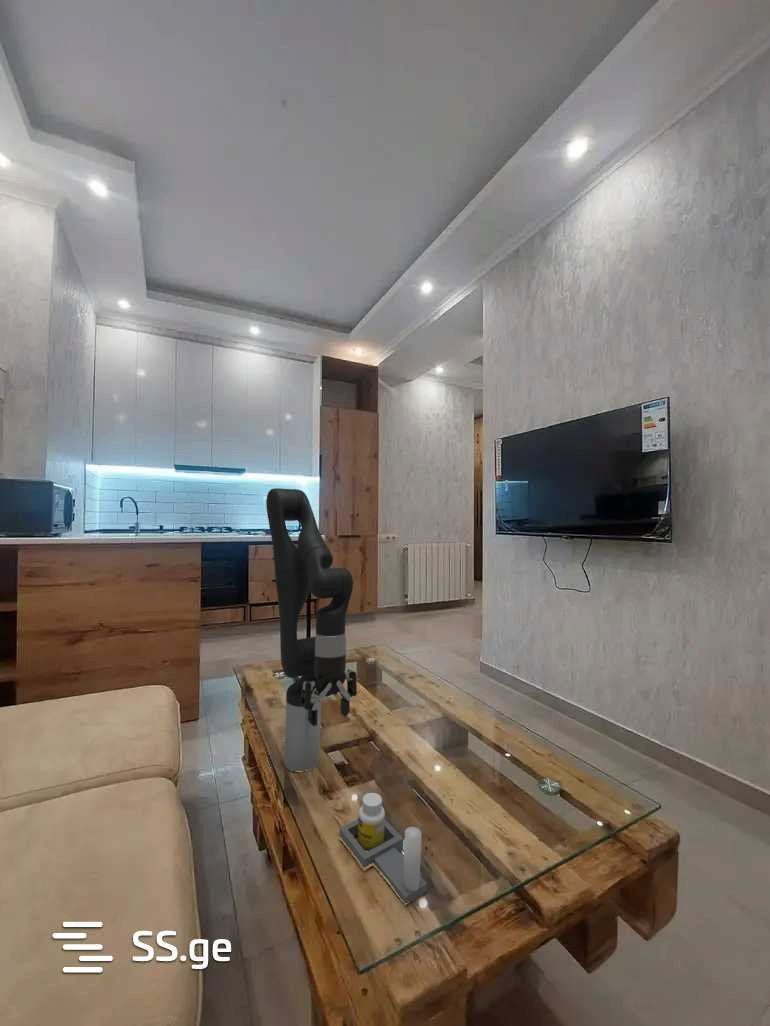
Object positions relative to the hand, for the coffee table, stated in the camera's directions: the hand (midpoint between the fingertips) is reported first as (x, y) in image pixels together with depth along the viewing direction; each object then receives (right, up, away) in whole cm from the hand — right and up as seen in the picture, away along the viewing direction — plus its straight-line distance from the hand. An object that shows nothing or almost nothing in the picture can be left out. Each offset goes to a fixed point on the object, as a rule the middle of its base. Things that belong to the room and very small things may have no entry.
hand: (329, 719), depth 103 cm
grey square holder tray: (+13, -19, -19) cm, 30 cm away
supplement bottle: (+10, -19, -15) cm, 26 cm away
